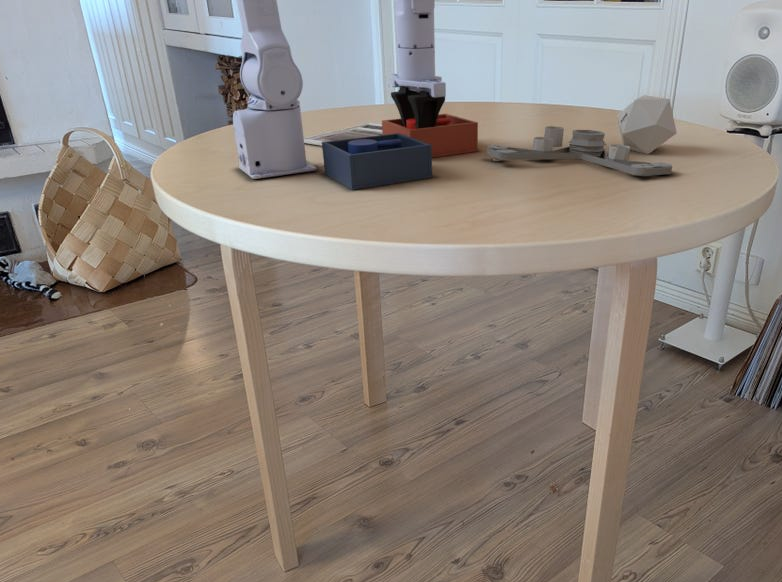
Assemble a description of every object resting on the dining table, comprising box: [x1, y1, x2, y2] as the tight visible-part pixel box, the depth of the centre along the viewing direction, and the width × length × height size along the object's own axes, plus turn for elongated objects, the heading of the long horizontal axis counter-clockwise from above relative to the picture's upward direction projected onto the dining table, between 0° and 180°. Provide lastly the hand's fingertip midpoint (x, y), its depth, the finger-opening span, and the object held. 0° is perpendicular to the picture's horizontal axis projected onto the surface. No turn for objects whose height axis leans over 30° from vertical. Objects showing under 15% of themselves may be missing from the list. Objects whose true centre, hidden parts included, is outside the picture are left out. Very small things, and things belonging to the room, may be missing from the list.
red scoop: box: [406, 118, 451, 129], centre depth 108 cm, size 8×4×4 cm, turn 120°
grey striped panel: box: [304, 122, 383, 147], centre depth 118 cm, size 11×1×18 cm
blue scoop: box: [348, 139, 401, 154], centre depth 93 cm, size 8×4×4 cm, turn 120°
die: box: [616, 94, 678, 155], centre depth 105 cm, size 8×9×10 cm
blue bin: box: [321, 133, 433, 191], centre depth 93 cm, size 12×10×4 cm
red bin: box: [381, 113, 479, 158], centre depth 108 cm, size 12×10×4 cm
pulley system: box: [486, 125, 673, 177], centre depth 99 cm, size 27×5×15 cm
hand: (419, 139), depth 107 cm, fingers closed on red scoop, 4 cm apart
